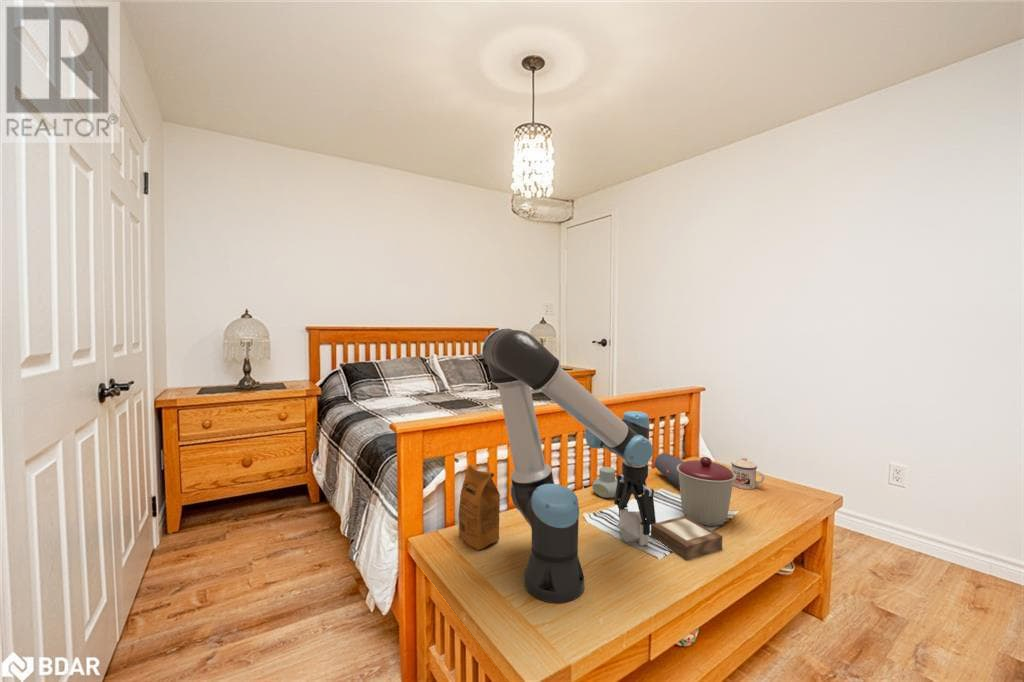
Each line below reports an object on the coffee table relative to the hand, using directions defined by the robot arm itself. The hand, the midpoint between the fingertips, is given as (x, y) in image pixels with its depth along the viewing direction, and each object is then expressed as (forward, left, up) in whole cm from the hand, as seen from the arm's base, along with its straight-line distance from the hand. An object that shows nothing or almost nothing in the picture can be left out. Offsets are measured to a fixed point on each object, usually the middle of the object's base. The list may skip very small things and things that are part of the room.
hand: (633, 536), depth 130 cm
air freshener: (+13, +30, -1) cm, 33 cm away
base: (+13, -8, -1) cm, 15 cm away
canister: (+31, +1, -1) cm, 31 cm away
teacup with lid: (+70, +14, -1) cm, 71 cm away
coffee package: (-43, +19, -1) cm, 47 cm away
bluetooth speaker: (+46, +27, -1) cm, 53 cm away
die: (0, 0, -1) cm, 1 cm away
